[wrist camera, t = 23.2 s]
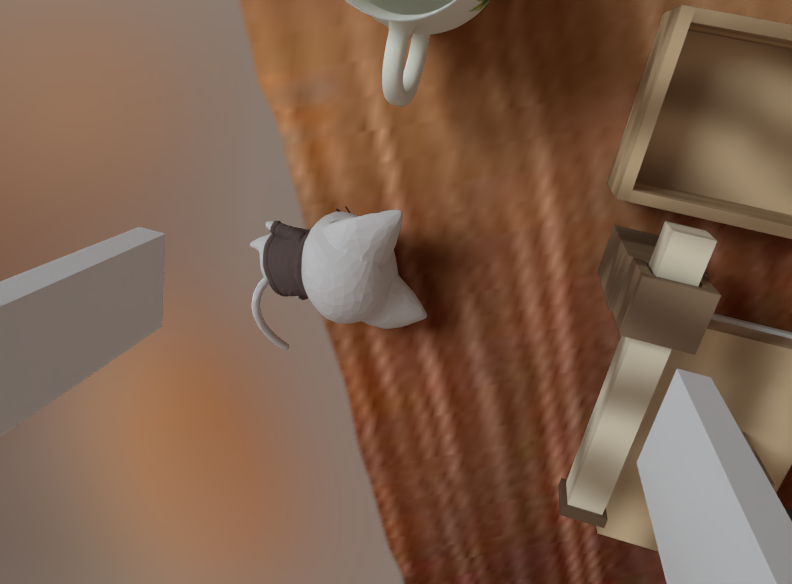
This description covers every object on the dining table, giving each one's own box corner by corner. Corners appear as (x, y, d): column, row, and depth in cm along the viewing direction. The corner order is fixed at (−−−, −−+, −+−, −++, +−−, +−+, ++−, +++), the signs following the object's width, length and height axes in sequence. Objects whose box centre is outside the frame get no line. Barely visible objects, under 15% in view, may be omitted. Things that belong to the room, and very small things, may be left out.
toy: (305, 291, 59) (445, 308, 53) (258, 354, 54) (408, 382, 47) (258, 176, 51) (417, 181, 45) (197, 237, 45) (369, 252, 39)
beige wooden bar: (658, 218, 37) (668, 231, 34) (710, 230, 37) (725, 244, 34) (558, 486, 46) (559, 514, 43) (599, 498, 45) (604, 528, 42)
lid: (595, 514, 55) (604, 591, 47) (676, 310, 47) (705, 361, 39) (723, 552, 53) (757, 639, 45) (831, 348, 45) (896, 409, 37)
